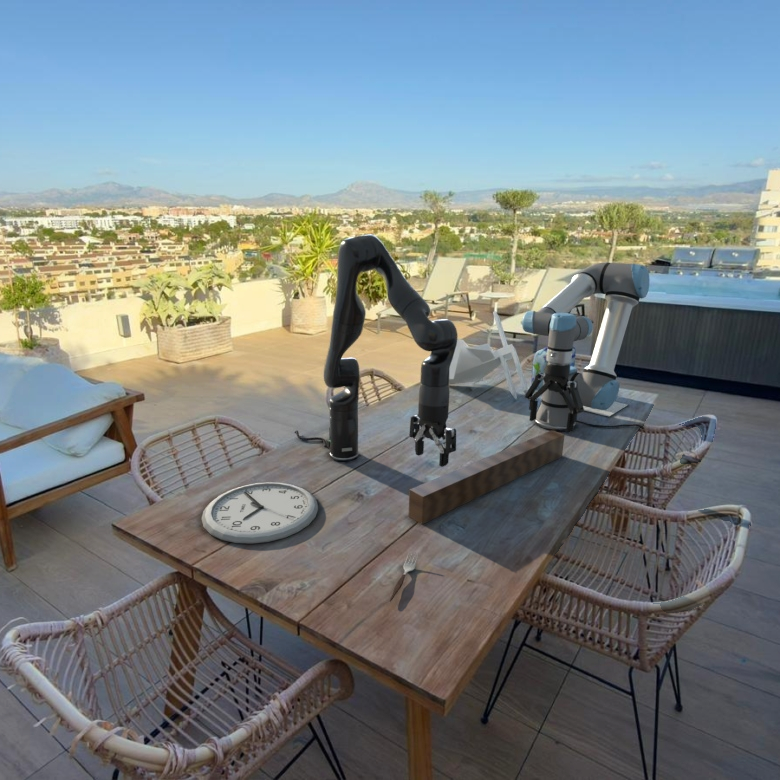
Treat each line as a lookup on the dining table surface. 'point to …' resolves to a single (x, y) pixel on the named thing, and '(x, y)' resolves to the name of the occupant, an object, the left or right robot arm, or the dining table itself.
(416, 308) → the left robot arm
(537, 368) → the lunch box
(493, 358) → the white plastic object
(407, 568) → the fork
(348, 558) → the dining table surface
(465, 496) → the beam
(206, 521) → the wall clock
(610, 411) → the invitation card
